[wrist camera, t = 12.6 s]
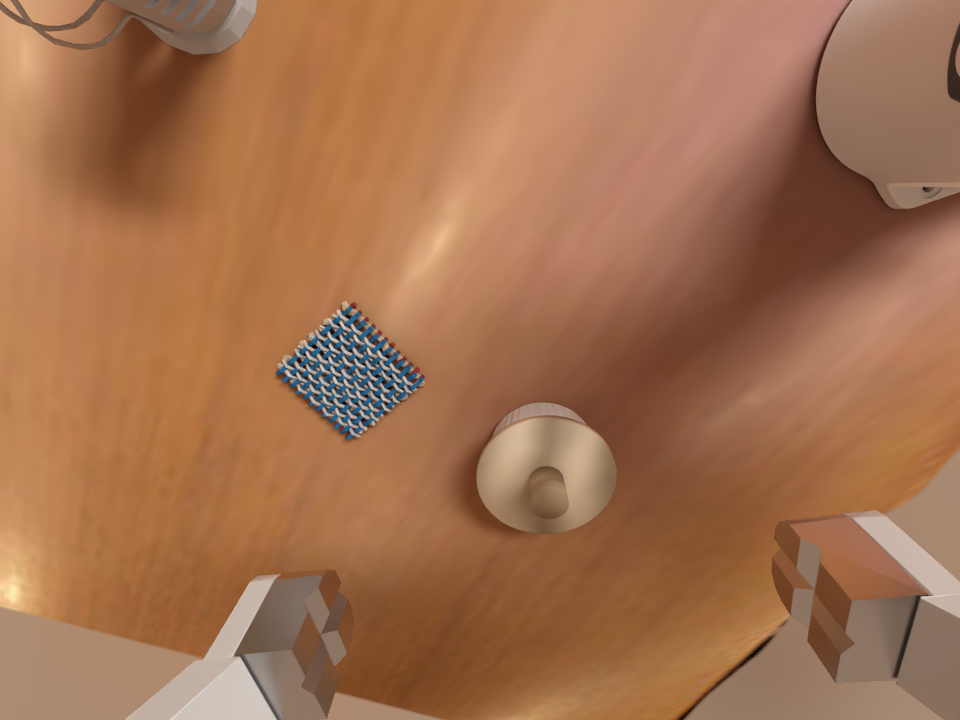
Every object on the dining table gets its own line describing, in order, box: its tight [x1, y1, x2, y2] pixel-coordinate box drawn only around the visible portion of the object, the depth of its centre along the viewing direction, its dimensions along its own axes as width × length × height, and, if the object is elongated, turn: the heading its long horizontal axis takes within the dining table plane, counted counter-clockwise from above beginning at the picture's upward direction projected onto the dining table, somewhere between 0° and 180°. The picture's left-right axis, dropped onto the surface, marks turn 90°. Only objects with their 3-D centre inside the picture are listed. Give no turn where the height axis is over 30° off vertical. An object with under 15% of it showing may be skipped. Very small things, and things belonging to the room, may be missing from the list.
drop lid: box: [476, 415, 617, 534], centre depth 37 cm, size 12×12×4 cm
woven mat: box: [275, 301, 425, 440], centre depth 41 cm, size 10×11×2 cm
